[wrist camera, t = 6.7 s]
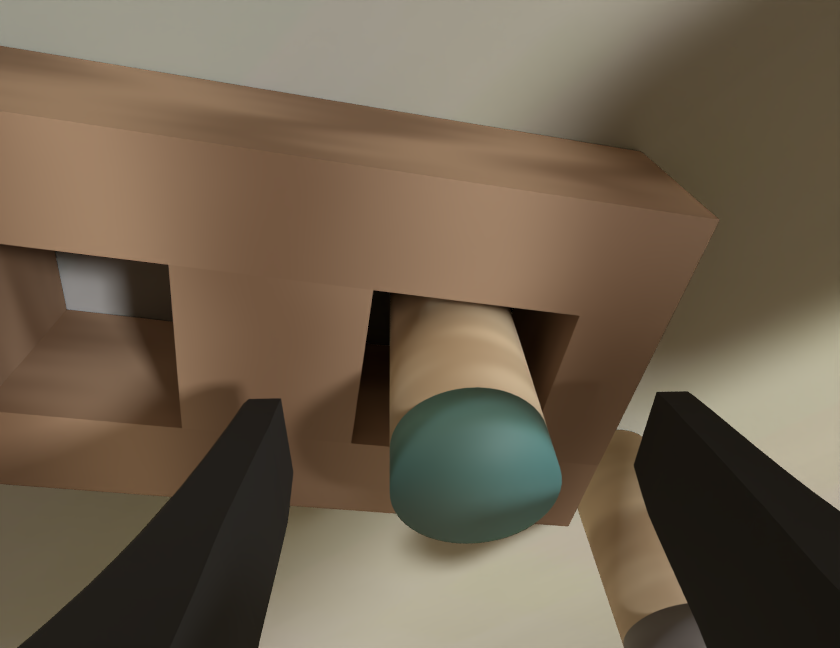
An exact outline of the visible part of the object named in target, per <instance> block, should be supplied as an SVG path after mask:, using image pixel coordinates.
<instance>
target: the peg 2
mask: <svg viewBox="0 0 840 648" xmlns="http://www.w3.org/2000/svg"><path fill="white" fill-rule="evenodd" d="M641 440H642V436H640V435H639V434H636V433H634V432H631V431H625V430H616V431H615V433H614V435H613V437H612V439H611V441H610V443H609V445H608V447H607V449H606V451H605V453H604V455H603V457H602V459H601V461H600V463H599V465H598V467H597V469H596V471H595V473H594V475H593V477H592V479H591V481H590V483H589V485H588V487H587V489H586V491H585V493H584V495H583V497H582V500H581V502H580V504H579V506H578V511H579V514H580V517H581V520H582V523H583V526H584V529H585V532H586V535H587V538H588V541H589V544H590V547H591V550H592V553H593V556H594V559H595V562H596V565H597V568H598V571H599V574H600V577H601V580H602V583H603V586H604V589H605V592H606V595H607V598H608V601H609V604H610V607H611V610H612V613H613V616H614V619H615V622H616V625H617V628H618V631H619V634H620V637H621V640H622V643H623V646H624V648H707V647H706V645H705V642H704V640H703V638H702V635H701V633H700V630H699V628H698V625H697V623H696V621H695V619H694V616H693V614H692V612H691V610H690V607H689V605H688V603H687V601H686V599H685V596H684V594H683V592H682V590H681V587H680V585H679V583H678V581H677V579H676V576H675V574H674V572H673V570H672V568H671V565H670V563H669V561H668V559H667V556H666V554H665V552H664V550H663V547H662V545H661V543H660V541H659V538H658V536H657V534H656V532H655V529H654V527H653V525H652V522H651V520H650V518H649V515H648V513H647V509H646V506H645V503H644V500H643V497H642V494H641V490H640V487H639V483H638V480H637V476H636V473H635V469H634V462H635V459H636V455H637V452H638V449H639V446H640V443H641Z"/></svg>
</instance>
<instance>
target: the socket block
mask: <svg viewBox="0 0 840 648" xmlns="http://www.w3.org/2000/svg"><path fill="white" fill-rule="evenodd" d="M718 222H719V219H718V218H717V217H716V216H715V215H713V214H712V213H711V212H710V211H709V210H708V209H707V208H705V207H704V206H703V205H702V204H701V203H700V202H699V201H697V200H696V199H695V198H694V197H693V196H692V195H691V194H689V193H688V192H687V191H686V190H685V189H684V188H682V187H681V186H680V185H679V184H678V183H677V182H676V181H674V180H673V179H672V178H671V177H670V176H669V175H668V174H666V173H665V172H664V171H663V170H662V169H661V168H660V167H658V166H657V165H656V164H655V163H654V162H653V161H652V160H650V159H649V158H648V157H647V156H646V155H645V154H644V153H642V152H641V151H635V150H628V149H622V148H616V147H610V146H604V145H598V144H592V143H586V142H580V141H574V140H568V139H562V138H556V137H550V136H544V135H537V134H531V133H525V132H519V131H513V130H507V129H501V128H495V127H489V126H483V125H477V124H471V123H465V122H459V121H453V120H447V119H440V118H434V117H428V116H422V115H416V114H410V113H404V112H398V111H392V110H386V109H380V108H374V107H368V106H362V105H356V104H349V103H343V102H337V101H331V100H325V99H319V98H313V97H307V96H301V95H295V94H289V93H283V92H277V91H271V90H265V89H258V88H252V87H246V86H240V85H234V84H228V83H222V82H216V81H210V80H204V79H198V78H192V77H186V76H180V75H174V74H168V73H161V72H155V71H149V70H143V69H137V68H131V67H125V66H119V65H113V64H107V63H101V62H95V61H89V60H83V59H77V58H70V57H64V56H58V55H52V54H46V53H40V52H34V51H28V50H22V49H16V48H10V47H4V46H0V484H8V485H21V486H35V487H48V488H61V489H75V490H88V491H102V492H115V493H128V494H142V495H155V496H169V497H172V496H173V495H174V494H175V493H176V491H177V490H178V489H179V488H180V487H181V485H182V484H183V483H184V482H185V480H186V479H187V478H188V477H189V475H190V474H191V473H192V472H193V470H194V469H195V468H196V467H197V465H198V464H199V463H200V462H201V460H202V459H203V458H204V457H205V455H206V454H207V453H208V451H209V450H210V449H211V448H212V446H213V445H214V444H215V442H216V441H217V440H218V438H219V437H220V436H221V434H222V433H223V431H224V430H225V429H226V427H227V426H228V425H229V423H230V422H231V420H232V419H233V418H234V416H235V415H236V413H237V412H238V411H239V409H240V408H241V406H242V405H243V404H244V403H245V402H246V401H247V400H248V399H269V398H281V401H282V407H283V413H284V419H285V425H286V431H287V437H288V443H289V449H290V455H291V460H292V466H293V472H294V473H293V481H292V490H291V499H290V506H302V507H316V508H329V509H343V510H356V511H369V512H383V513H396V512H395V511H394V509H393V506H392V504H391V500H390V346H386V345H377V344H368V343H366V337H367V330H368V323H369V316H370V309H371V302H372V295H373V290H376V291H384V292H392V293H400V294H408V295H416V296H424V297H432V298H440V299H449V300H457V301H465V302H473V303H481V304H489V305H497V306H505V307H513V308H514V311H513V314H512V318H513V321H514V324H515V328H516V331H517V334H518V337H519V340H520V343H521V346H522V350H523V353H524V356H525V359H526V362H527V365H528V369H529V372H530V375H531V378H532V381H533V384H534V387H535V391H536V394H537V397H538V400H539V403H540V406H541V410H542V413H543V416H544V419H545V422H546V425H547V429H548V432H549V435H550V438H551V441H552V444H553V447H554V451H555V454H556V457H557V460H558V463H559V466H560V470H561V475H562V485H561V490H560V493H559V496H558V498H557V500H556V502H555V503H554V505H553V506H552V508H551V509H550V510H549V511H548V513H546V514H545V515H544V516H543V517H542V518H541V519H540V520H539V521H537V522H536V523H535V524H543V525H557V526H569V524H570V522H571V520H572V518H573V516H574V514H575V512H576V510H577V508H578V506H579V504H580V502H581V500H582V497H583V495H584V493H585V491H586V489H587V487H588V485H589V483H590V481H591V479H592V477H593V475H594V473H595V471H596V469H597V467H598V465H599V463H600V461H601V459H602V457H603V455H604V453H605V451H606V449H607V447H608V445H609V443H610V441H611V439H612V437H613V435H614V433H615V431H616V429H617V427H618V425H619V423H620V421H621V419H622V417H623V415H624V413H625V411H626V408H627V406H628V404H629V402H630V400H631V398H632V396H633V394H634V392H635V390H636V388H637V386H638V384H639V382H640V380H641V378H642V376H643V374H644V372H645V370H646V368H647V366H648V364H649V362H650V360H651V358H652V356H653V354H654V352H655V350H656V348H657V346H658V344H659V342H660V340H661V338H662V336H663V334H664V332H665V330H666V328H667V326H668V324H669V321H670V319H671V317H672V315H673V313H674V311H675V309H676V307H677V305H678V303H679V301H680V299H681V297H682V295H683V293H684V291H685V289H686V287H687V285H688V283H689V281H690V279H691V277H692V275H693V273H694V271H695V269H696V267H697V265H698V263H699V261H700V259H701V257H702V255H703V253H704V251H705V249H706V247H707V245H708V243H709V241H710V239H711V237H712V234H713V232H714V230H715V228H716V226H717V224H718ZM55 251H62V252H70V253H78V254H86V255H94V256H102V257H110V258H118V259H126V260H134V261H142V262H150V263H158V264H167V265H168V266H169V278H170V290H171V302H172V314H173V322H172V321H163V320H154V319H145V318H136V317H127V316H118V315H109V314H100V313H91V312H83V311H74V310H67V309H66V304H65V299H64V294H63V289H62V285H61V280H60V275H59V270H58V265H57V260H56V255H55Z"/></svg>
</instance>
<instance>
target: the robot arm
mask: <svg viewBox="0 0 840 648" xmlns="http://www.w3.org/2000/svg"><path fill="white" fill-rule="evenodd" d="M634 469H635V473H636V476H637V480H638V483H639V487H640V490H641V494H642V497H643V500H644V503H645V506H646V509H647V513H648V515H649V518H650V520H651V522H652V525H653V527H654V529H655V532H656V534H657V536H658V538H659V541H660V543H661V545H662V547H663V550H664V552H665V554H666V556H667V559H668V561H669V563H670V565H671V568H672V570H673V572H674V574H675V576H676V579H677V581H678V583H679V585H680V587H681V590H682V592H683V594H684V596H685V599H686V601H687V603H688V605H689V607H690V610H691V612H692V614H693V616H694V619H695V621H696V623H697V625H698V628H699V630H700V633H701V635H702V638H703V640H704V642H705V645H706V647H707V648H840V511H839V510H837V509H836V508H835V507H833V506H832V505H831V504H829V503H828V502H826V501H825V500H824V499H822V498H821V497H820V496H818V495H817V494H815V493H814V492H813V491H811V490H810V489H809V488H808V487H806V486H805V485H804V484H802V483H801V482H800V481H798V480H797V479H796V478H794V477H793V476H792V475H791V474H789V473H788V472H787V471H786V470H784V469H783V468H782V467H780V466H779V465H778V464H777V463H776V462H774V461H773V460H772V459H771V458H769V457H768V456H767V455H766V454H764V453H763V452H762V451H761V450H759V449H758V448H757V447H756V446H754V445H753V444H752V443H751V442H750V441H748V440H747V439H746V438H745V437H744V436H742V435H741V434H740V433H739V432H738V431H736V430H735V429H734V428H733V427H731V426H730V425H729V424H728V423H727V422H725V421H724V420H723V419H722V418H721V417H719V416H718V415H717V414H716V413H715V412H713V411H712V410H711V409H710V408H708V407H707V406H706V405H705V404H704V403H702V402H701V401H700V400H698V399H697V398H696V397H695V396H693V395H692V394H691V393H689V392H688V391H683V392H657V393H656V396H655V399H654V402H653V405H652V408H651V412H650V415H649V418H648V421H647V424H646V427H645V430H644V434H643V437H642V440H641V443H640V446H639V449H638V452H637V455H636V459H635V462H634ZM293 473H294V472H293V466H292V460H291V455H290V449H289V443H288V437H287V431H286V425H285V419H284V413H283V407H282V401H281V398H269V399H248V400H247V401H246V402H245V403H244V404H243V405H242V406H241V408H240V409H239V411H238V412H237V413H236V415H235V416H234V418H233V419H232V420H231V422H230V423H229V425H228V426H227V427H226V429H225V430H224V431H223V433H222V434H221V436H220V437H219V438H218V440H217V441H216V442H215V444H214V445H213V446H212V448H211V449H210V450H209V451H208V453H207V454H206V455H205V457H204V458H203V459H202V460H201V462H200V463H199V464H198V465H197V467H196V468H195V469H194V470H193V472H192V473H191V474H190V475H189V477H188V478H187V479H186V480H185V482H184V483H183V484H182V485H181V487H180V488H179V489H178V490H177V491H176V493H175V494H174V495H173V496H172V497H171V498H170V500H169V501H168V502H167V503H166V504H165V505H164V506H163V507H162V509H161V510H160V511H159V512H158V513H157V514H156V515H155V517H154V518H153V519H152V520H151V521H150V522H149V523H148V524H147V526H146V527H145V528H144V529H143V530H142V531H141V532H140V533H139V534H138V535H137V536H136V538H135V539H134V540H133V541H132V542H131V543H130V544H129V545H128V546H127V547H126V548H125V549H124V550H123V551H122V552H121V553H120V554H119V555H118V556H117V557H116V558H115V559H114V560H113V561H112V562H111V563H110V564H109V565H108V566H107V567H106V568H105V569H104V570H103V571H102V572H101V573H100V574H99V575H98V576H97V577H96V578H95V579H94V580H93V581H92V582H91V583H90V584H89V585H88V586H86V587H85V588H84V589H83V590H82V591H81V592H80V593H79V594H78V595H77V596H76V597H74V598H73V599H72V600H71V601H70V602H69V603H68V604H67V605H66V606H65V607H63V608H62V609H61V610H60V611H59V612H58V613H57V614H56V615H55V616H54V617H52V618H51V619H50V620H49V621H48V622H47V623H46V624H44V625H43V626H42V627H41V628H40V629H39V630H38V631H36V632H35V633H34V634H33V635H32V636H31V637H29V638H28V639H27V640H26V641H25V642H23V643H22V644H21V645H20V646H19V647H17V648H258V646H259V641H260V637H261V633H262V628H263V624H264V620H265V616H266V612H267V607H268V603H269V599H270V595H271V591H272V587H273V582H274V578H275V574H276V570H277V566H278V562H279V557H280V553H281V549H282V545H283V540H284V536H285V532H286V527H287V523H288V515H289V507H290V499H291V490H292V481H293Z"/></svg>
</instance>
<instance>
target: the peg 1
mask: <svg viewBox="0 0 840 648" xmlns="http://www.w3.org/2000/svg"><path fill="white" fill-rule="evenodd" d="M561 485H562V475H561V470H560V466H559V463H558V460H557V457H556V454H555V451H554V447H553V444H552V441H551V438H550V435H549V432H548V429H547V425H546V422H545V419H544V416H543V413H542V410H541V406H540V403H539V400H538V397H537V394H536V391H535V387H534V384H533V381H532V378H531V375H530V372H529V369H528V365H527V362H526V359H525V356H524V353H523V350H522V346H521V343H520V340H519V337H518V334H517V331H516V328H515V324H514V321H513V318H512V315H511V312H510V309H509V307H505V306H497V305H489V304H481V303H473V302H465V301H457V300H449V299H440V298H432V297H424V296H416V295H408V294H400V293H392V292H390V500H391V504H392V506H393V509H394V511H395V512H396V514H397V515H398V517H399V518H400V519H401V520H402V521H403V522H404V523H405V524H406V525H407V526H409V527H410V528H411V529H413V530H415V531H416V532H418V533H420V534H422V535H425V536H427V537H430V538H433V539H436V540H440V541H445V542H451V543H466V544H468V543H482V542H489V541H494V540H499V539H502V538H506V537H509V536H511V535H514V534H516V533H519V532H521V531H523V530H525V529H527V528H528V527H530V526H532V525H533V524H535V523H536V522H537V521H539V520H540V519H541V518H542V517H543V516H544V515H545V514H546V513H548V511H549V510H550V509H551V508H552V506H553V505H554V503H555V502H556V500H557V498H558V496H559V493H560V490H561Z"/></svg>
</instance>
